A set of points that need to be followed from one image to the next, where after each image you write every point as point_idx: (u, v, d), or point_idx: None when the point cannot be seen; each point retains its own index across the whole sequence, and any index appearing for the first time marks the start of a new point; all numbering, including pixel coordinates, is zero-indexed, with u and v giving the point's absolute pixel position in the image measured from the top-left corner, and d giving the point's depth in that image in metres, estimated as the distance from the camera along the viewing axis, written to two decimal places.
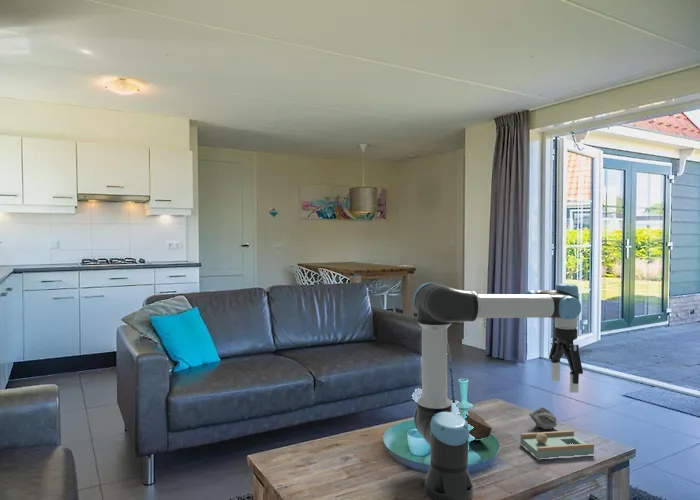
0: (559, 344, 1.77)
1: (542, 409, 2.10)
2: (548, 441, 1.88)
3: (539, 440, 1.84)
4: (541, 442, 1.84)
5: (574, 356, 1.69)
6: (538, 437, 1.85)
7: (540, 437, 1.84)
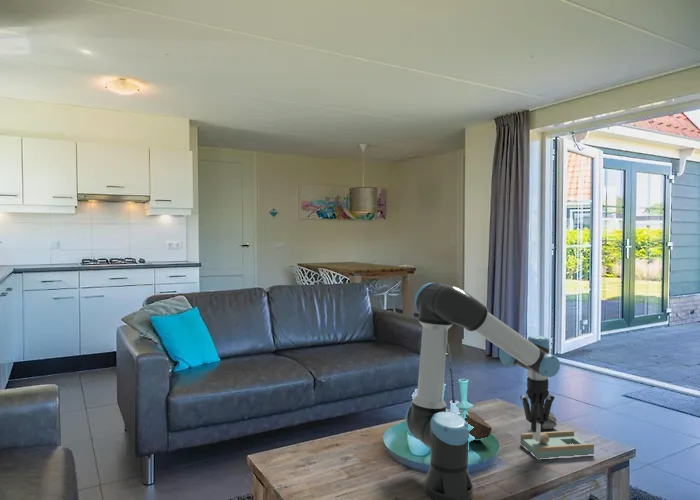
0: None
1: None
2: None
3: (541, 439, 1.85)
4: (542, 441, 1.84)
5: (524, 406, 1.85)
6: (540, 436, 1.85)
7: (543, 436, 1.85)
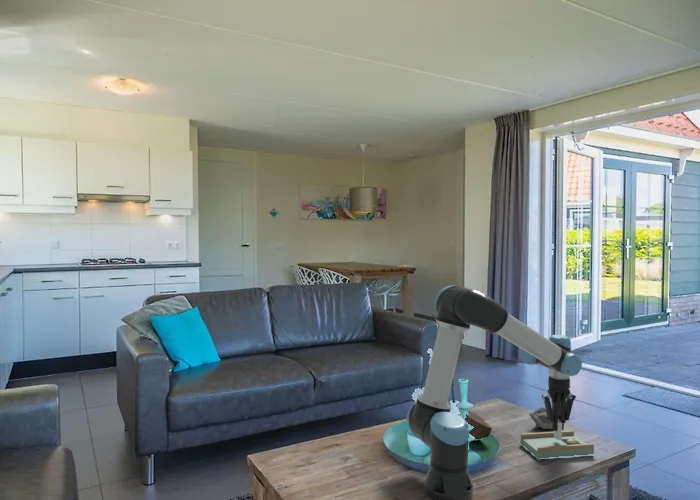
0: None
1: (542, 409, 2.10)
2: (548, 441, 1.88)
3: (570, 443, 1.87)
4: None
5: (545, 405, 1.86)
6: (570, 440, 1.87)
7: (572, 441, 1.87)
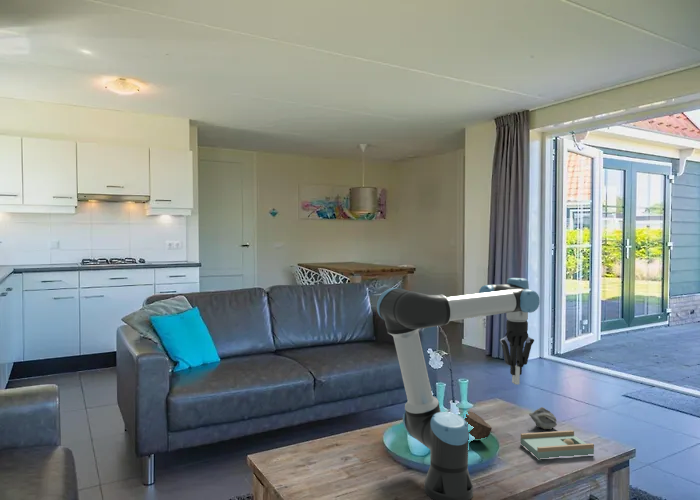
0: None
1: (542, 409, 2.10)
2: (548, 441, 1.88)
3: None
4: None
5: (503, 349, 1.83)
6: None
7: (567, 443, 1.87)
